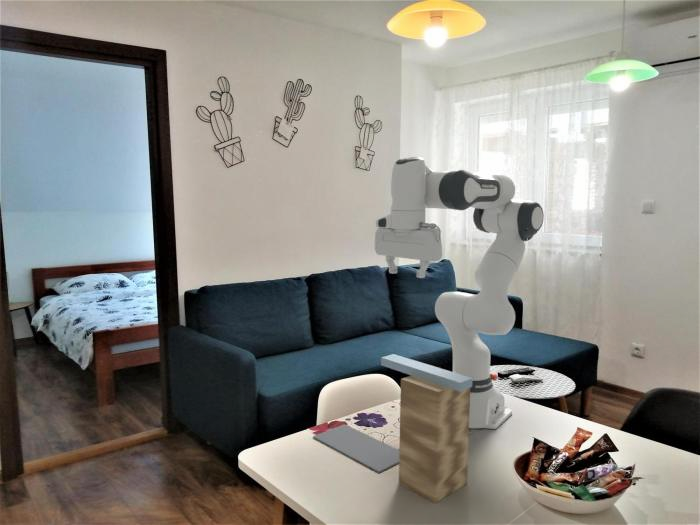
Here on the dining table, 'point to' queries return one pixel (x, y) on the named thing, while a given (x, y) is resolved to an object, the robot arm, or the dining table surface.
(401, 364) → the slat
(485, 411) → the robot arm
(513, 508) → the dining table surface
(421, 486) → the oak stand
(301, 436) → the dining table surface
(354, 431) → the mat
